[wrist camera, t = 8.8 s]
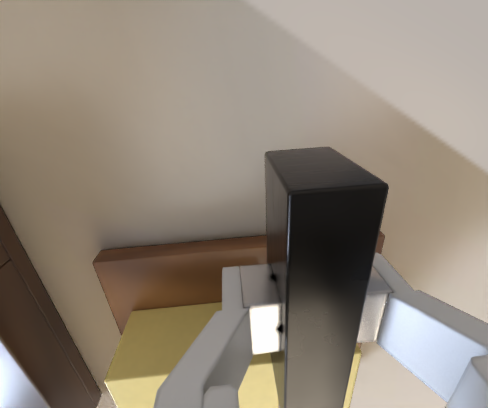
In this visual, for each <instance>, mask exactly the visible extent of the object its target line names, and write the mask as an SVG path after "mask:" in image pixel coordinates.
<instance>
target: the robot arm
mask: <svg viewBox="0 0 488 408" xmlns="http://www.w3.org/2000/svg"><path fill="white" fill-rule="evenodd" d="M240 277H241V278H240ZM281 324H282V302H281V298H280V295H279V291H278V287H277V283H276V282H275V281H274V272H273V268H272V265H271V264H258V265H244V266H240V268H239V266H234V267H223V269H222V310H221V311H216V313H215V314H214V315H213V317H212V318H211V319H210V321H209V322H208V323H207V325H206V326H205V327H204V329H203V330H202V331H201V333H200V334H199V335H198V337H197V338H196V339H195V341H194V342H193V343H192V345H191V346H190V347H189V349H188V350H187V351H186V353H185V354H184V355H183V357H182V358H181V359H180V361H179V362H178V363H177V365H176V366H175V367H174V369H173V370H172V371H171V373H170V374H169V375H168V377H167V378H166V379H165V381H164V382H163V383H162V385H161V386H160V387H159V389H158V390H157V393H156V398H155V403H154V407H153V408H240V406H239V398H238V390H239V388H240V386H241V383H242V381H243V379H244V376H245V374H246V371H247V369H248V367H249V364H250V362H251V360H252V357H253V355H255V354H263V353H270V352H277V351H281V338H282V333H281V329H280V325H281ZM375 341H377V344H378V345H380V346H381V347H382V348H383V349H384V350H385V351H387V352H388V353H389V354H390V355H391V356H393V357H394V358H395V359H396V360H397V361H398V362H400V363H401V364H402V365H403V366H404V367H406V368H407V369H408V370H409V371H410V372H411V373H413V374H414V375H415V376H416V377H417V378H419V379H420V380H421V381H422V382H423V383H424V384H426V385H427V386H428V387H429V388H430V389H432V390H433V391H434V392H435V393H436V394H437V395H439V396H440V397H441V398H442V399H443V400H445V401H446V402H447V405H446V407H445V408H488V323H486V322H484V321H482V320H479V319H477V318H475V317H473V316H471V315H469V314H467V313H465V312H463V311H461V310H459V309H457V308H455V307H453V306H451V305H449V304H447V303H445V302H443V301H441V300H439V299H437V298H434V297H432V296H430V295H428V294H426V293H424V292H422V291H420V290H418V291H414V290H413V289H412V288H411V287H410V285H409V284H408V283H407V282H406V281H405V280H404V279H403V278H402V277H401V276H400V274H399V273H398V272H397V271H396V270H395V269H394V268H393V267H392V266H391V265H390V263H389V262H388V261H387V260H386V259H385V258H384V257H383V256H382V255H381V254H379V253H375V256H374V261H373V266H372V271H371V276H370V280H369V285H368V290H367V295H366V300H365V304H364V309H363V314H362V319H361V324H360V329H359V333H358V338H357V343H362V342H375Z"/></svg>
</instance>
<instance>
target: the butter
mask: <svg viewBox="0 0 488 408" xmlns="http://www.w3.org/2000/svg"><path fill="white" fill-rule="evenodd" d="M221 310H222V302H217V303H207V304H198V305H188V306H178V307H168V308H158V309H148V310H138V311H132V312H131V314H130V316H129V319H128V321H127V324H126V326H125V329H124V332H123V334H122V337H121V339H120V342H119V344H118V347H117V349H116V352H115V354H114V357H113V360H112V362H111V365H110V367H109V370H108V372H107V375H106V377H105V380H104V382H105V384H106V386H107V388H108V390H109V392H110V394H111V396H112V398H113V400H114V402H115V404H116V406H117V408H153V407H154V403H155V398H156V393H157V390H158V389H159V387H160V386H161V385H162V383H163V382H164V381H165V379H166V378H167V377H168V375H169V374H170V373H171V371H172V370H173V369H174V367H175V366H176V365H177V363H178V362H179V361H180V359H181V358H182V357H183V355H184V354H185V353H186V351H187V350H188V349H189V347H190V346H191V345H192V343H193V342H194V341H195V339H196V338H197V337H198V335H199V334H200V333H201V331H202V330H203V329H204V327H205V326H206V325H207V323H208V322H209V321H210V319H211V318H212V317H213V315H214V314H215V313H216V311H221ZM238 398H239V406H240V408H279V400H278V394H277V389H276V383H275V377H274V371H273V366H272V360H271V354H270V353H263V354H255V355H253V357H252V360H251V362H250V364H249V367H248V369H247V371H246V374H245V376H244V379H243V381H242V383H241V386H240V388H239V390H238Z"/></svg>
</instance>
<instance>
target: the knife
mask: <svg viewBox="0 0 488 408" xmlns="http://www.w3.org/2000/svg"><path fill="white" fill-rule="evenodd" d="M265 188H266V231H267V264H271V265H272V268H273V272H274V281H275V282H276V283H277V287H278V291H279V295H280V298H281V302H282V324H281V325H280V329H281V333H282V338H281V351H277V352H270V354H271V360H272V366H273V371H274V377H275V383H276V389H277V394H278V400H279V408H343V406H344V401H345V396H346V391H347V386H348V382H349V377H350V372H351V367H352V362H353V357H354V353H355V348H356V343H357V338H358V333H359V329H360V324H361V319H362V314H363V309H364V304H365V300H366V295H367V290H368V285H369V280H370V276H371V271H372V266H373V261H374V256H375V251H376V247H377V242H378V237H379V232H380V227H381V223H382V218H383V213H384V208H385V203H386V198H387V194H388V189H389V187H388V184H387V183H385V182H384V181H382V180H381V179H379V178H378V177H376V176H375V175H373V174H371V173H370V172H368V171H367V170H365V169H364V168H362V167H361V166H359V165H357V164H356V163H354V162H353V161H351V160H350V159H348V158H346V157H345V156H343V155H342V154H340V153H339V152H337V151H336V150H334V149H332V148H331V147H317V148H305V149H292V150H279V151H268V152H266V153H265Z"/></svg>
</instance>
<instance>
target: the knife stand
mask: <svg viewBox="0 0 488 408" xmlns="http://www.w3.org/2000/svg"><path fill="white" fill-rule="evenodd" d="M100 397H101V393H100V391H99V389H98V387H97V385H96V384H95V382H94V380H93V378H92V376H91V374H90V372H89V371H88V369H87V367H86V365H85V363H84V361H83V359H82V357H81V356H80V354H79V352H78V350H77V348H76V346H75V344H74V343H73V341H72V339H71V337H70V335H69V333H68V331H67V330H66V328H65V326H64V324H63V322H62V320H61V318H60V316H59V315H58V313H57V311H56V309H55V307H54V305H53V303H52V302H51V300H50V298H49V296H48V294H47V292H46V290H45V289H44V287H43V285H42V283H41V281H40V279H39V277H38V276H37V274H36V272H35V270H34V268H33V266H32V264H31V262H30V261H29V259H28V257H27V255H26V253H25V251H24V249H23V248H22V246H21V244H20V242H19V240H18V238H17V236H16V235H15V233H14V231H13V229H12V227H11V225H10V223H9V221H8V220H7V218H6V216H5V214H4V212H3V210H2V208H1V207H0V408H96V407H97V405H98V403H99V400H100Z"/></svg>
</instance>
